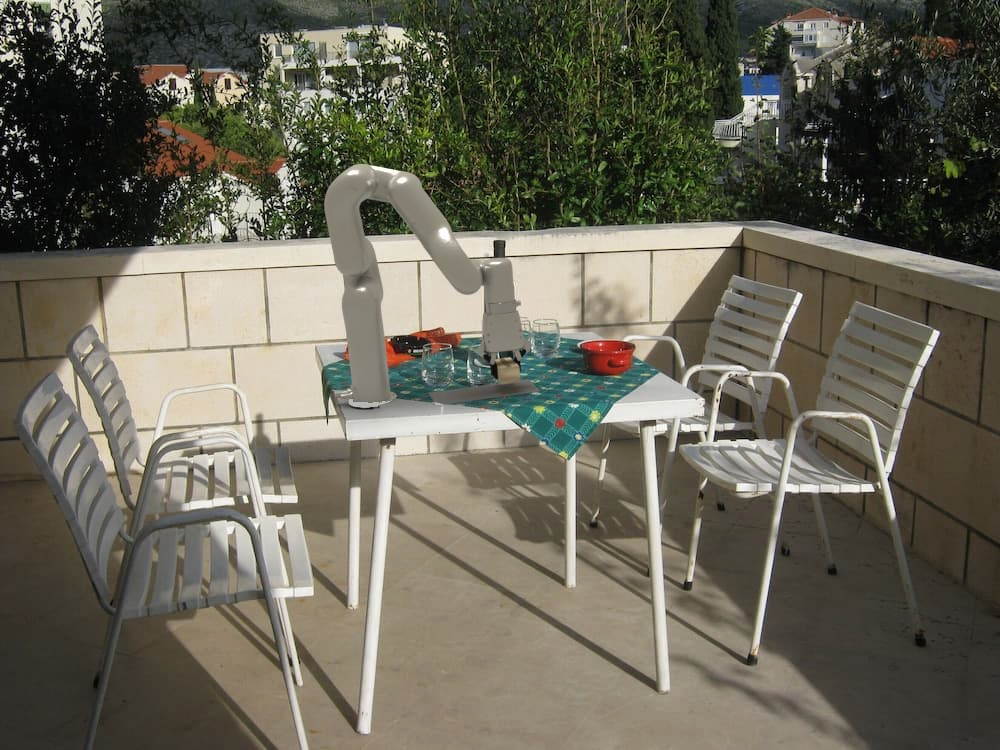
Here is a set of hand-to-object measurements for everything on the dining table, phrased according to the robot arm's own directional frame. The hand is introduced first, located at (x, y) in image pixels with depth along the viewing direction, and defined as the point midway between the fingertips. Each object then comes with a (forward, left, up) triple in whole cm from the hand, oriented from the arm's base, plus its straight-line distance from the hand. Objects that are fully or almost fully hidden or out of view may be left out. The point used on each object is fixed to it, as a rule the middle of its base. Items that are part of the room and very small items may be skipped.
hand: (506, 375), depth 277 cm
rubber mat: (-6, 0, -4) cm, 7 cm away
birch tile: (0, 0, -1) cm, 1 cm away
